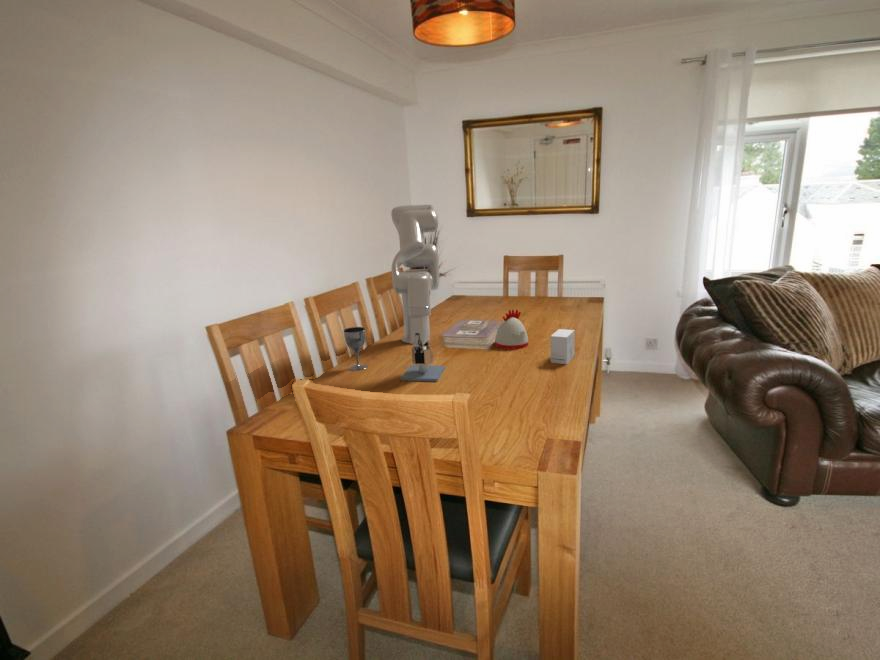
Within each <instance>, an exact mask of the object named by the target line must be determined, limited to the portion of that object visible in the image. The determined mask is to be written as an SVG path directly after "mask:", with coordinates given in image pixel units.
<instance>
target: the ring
mask: <svg viewBox="0 0 880 660" xmlns="http://www.w3.org/2000/svg"><path fill="white" fill-rule="evenodd" d="M423 346H424V347H426V350H423V352H424V360H425V363H424V364H416V363H415V349H414V348H415V347H414V346H412V348H411V359H412V360H411V362H412V364H413V365H426V364H427V365H430V364H432V363H433V362H434V353H433V352H434V351H433V346H431V345H430V344H429V345H423ZM419 347H421V346H419Z"/></svg>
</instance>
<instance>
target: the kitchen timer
mask: <svg viewBox="0 0 880 660" xmlns="http://www.w3.org/2000/svg"><path fill="white" fill-rule="evenodd" d="M521 313H522V312H521V311H519V310H518V309H517V308H516V309H515V310H514V309H509V310H508V313H507V312H505V316H503V315H502V319H503V321H502V322H501V323H500V325H499V326H498V328H497V330H496V334H495V338H494V345H495V347H497V348H499V349H503V348H505V349H504V350H518V349H519V348H521V349H524V348H526V347H528V346H529V337H528V333H527V330H526V328H525V326H524V324H523V323H522V321H521V320H519V317H520V316H521ZM519 350H520V349H519Z"/></svg>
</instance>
